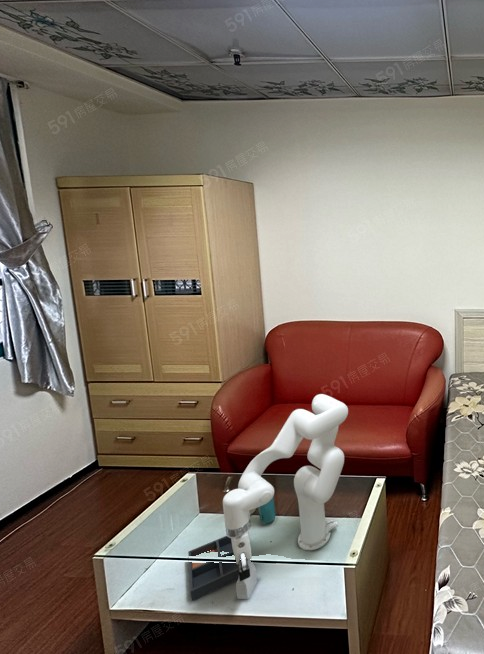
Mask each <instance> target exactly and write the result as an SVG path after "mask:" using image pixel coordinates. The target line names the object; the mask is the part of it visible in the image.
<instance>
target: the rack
mask: <svg viewBox="0 0 484 654" xmlns="http://www.w3.org/2000/svg"><path fill="white" fill-rule="evenodd" d="M210 550H211V551H210ZM207 551H209V552H207ZM222 551H224V552H229V553H227V554H224V555H222V556H221V554H220V552H222ZM204 552H206V553H210V552H218V557H226V556H232V555H234V552H233V548H232V542H231V538H229V537H228V536H227V535H224V536H221V537H220V538H217V539H215V540H213V541H210V542H207V543H205V544H203V545H201V546H198V547H196V548H194V549H191V550H189V551H188V552H187V555H188V556H196V555H199V554H201V553H204ZM240 564H241V567H242V563H240ZM188 575H189V593H190V598H191V602H195V601H196V600H198V599H200V598H202V597H204V596H206V595H208V594H210V593H211V594H212V593H213V592H214V591H217V590H219V589H221V588H223V587H226V586H228V585H229V584H231V583H234V582H237V581H238V578H239V564H236V563H222V562H219V563H214V562H206V563H192V562H189V561H188Z"/></svg>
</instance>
